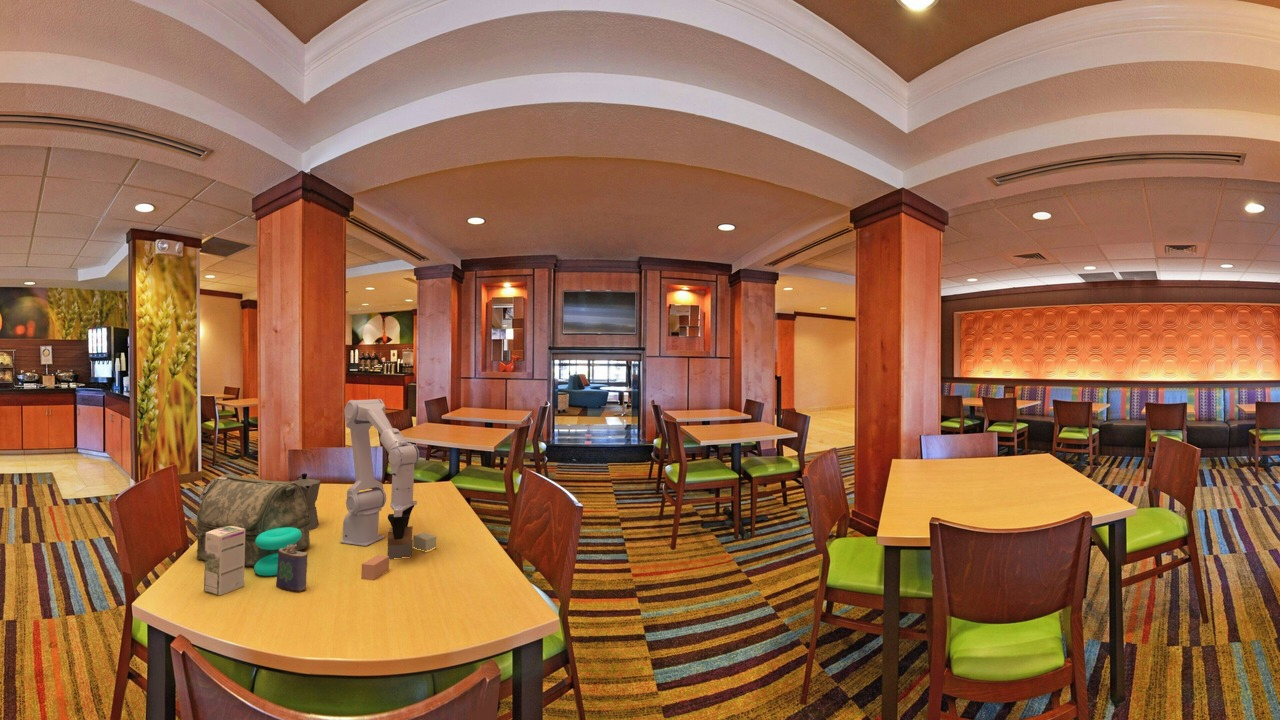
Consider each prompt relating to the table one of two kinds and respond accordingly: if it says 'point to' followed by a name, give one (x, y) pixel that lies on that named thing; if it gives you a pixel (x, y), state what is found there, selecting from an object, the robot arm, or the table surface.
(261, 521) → the lunch bag
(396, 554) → the charcoal block
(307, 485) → the coffeepot
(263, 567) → the donuts
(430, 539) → the sage block
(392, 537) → the walnut block
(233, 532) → the syrup box
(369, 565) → the terracotta block
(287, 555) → the flask
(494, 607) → the table surface
